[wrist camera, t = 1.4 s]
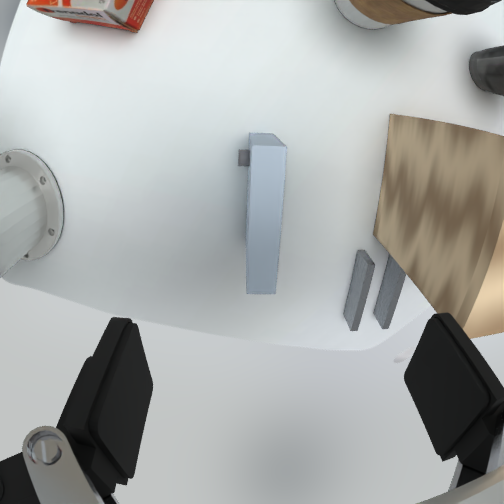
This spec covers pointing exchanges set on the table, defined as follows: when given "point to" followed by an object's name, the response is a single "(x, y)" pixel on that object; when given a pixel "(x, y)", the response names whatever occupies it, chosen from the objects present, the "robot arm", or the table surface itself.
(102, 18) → the medicine box
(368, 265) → the hinge clips
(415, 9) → the coffee cup
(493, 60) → the beverage cup
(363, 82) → the table surface
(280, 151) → the door panel
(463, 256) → the cabinet
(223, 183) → the table surface
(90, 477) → the robot arm
